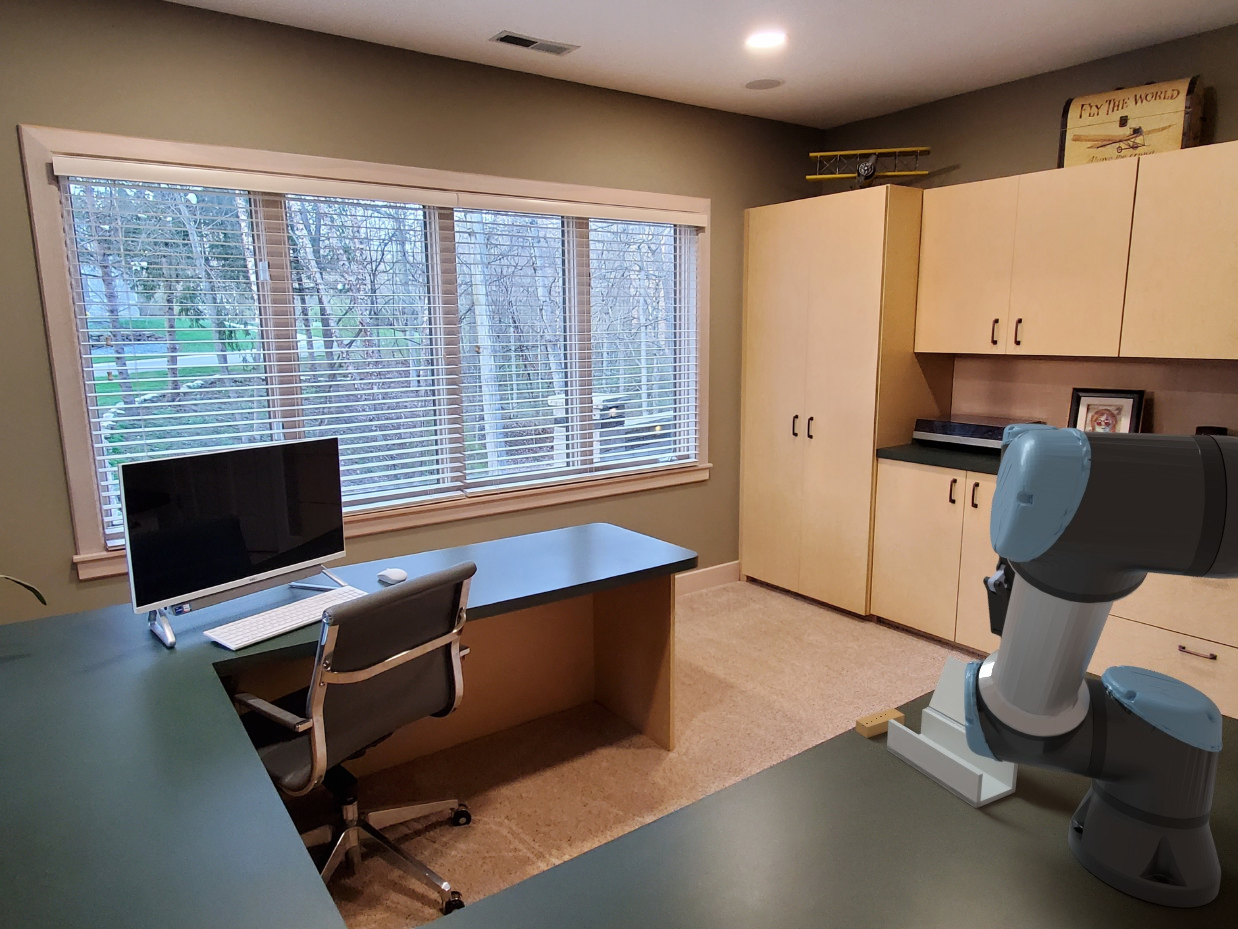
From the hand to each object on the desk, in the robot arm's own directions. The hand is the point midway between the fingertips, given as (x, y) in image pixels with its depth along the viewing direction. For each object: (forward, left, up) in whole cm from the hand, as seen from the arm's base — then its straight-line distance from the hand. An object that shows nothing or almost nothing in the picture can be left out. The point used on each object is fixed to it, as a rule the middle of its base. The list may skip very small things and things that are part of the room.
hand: (1009, 676), depth 115 cm
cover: (-1, +8, -2) cm, 8 cm away
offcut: (+14, +14, -11) cm, 22 cm away
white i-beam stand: (-1, +13, -11) cm, 18 cm away
